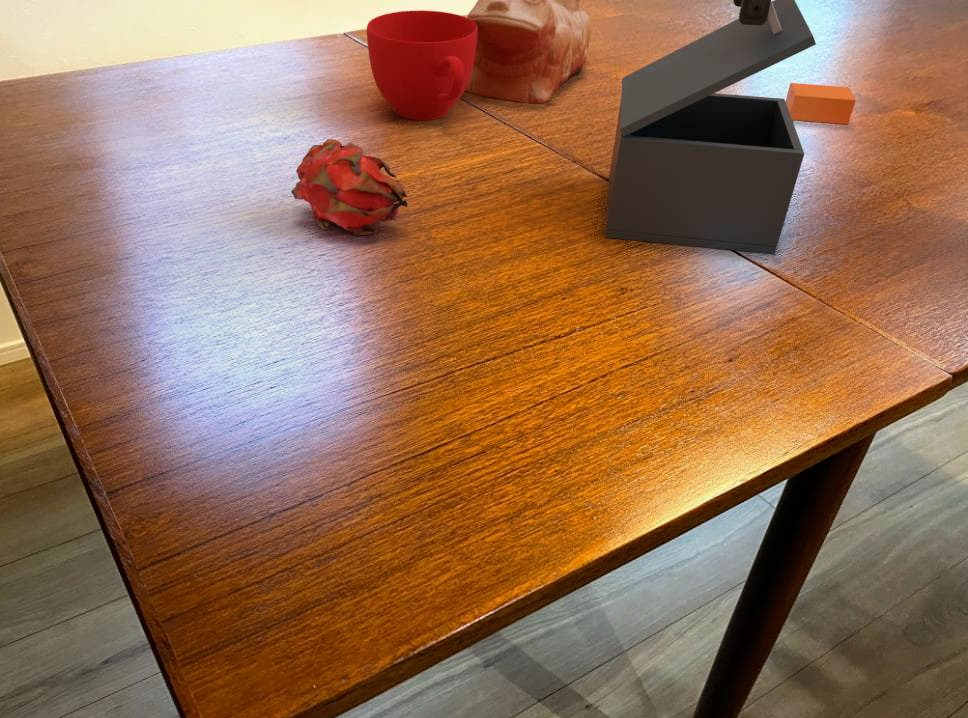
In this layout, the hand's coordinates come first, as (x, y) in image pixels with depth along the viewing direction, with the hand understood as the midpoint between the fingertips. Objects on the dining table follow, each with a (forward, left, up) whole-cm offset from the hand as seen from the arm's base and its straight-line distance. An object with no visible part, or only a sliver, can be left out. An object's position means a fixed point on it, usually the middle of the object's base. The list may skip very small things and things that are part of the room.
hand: (748, 13), depth 76 cm
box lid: (+2, 0, -5) cm, 5 cm away
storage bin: (+2, 0, -19) cm, 19 cm away
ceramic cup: (+32, -20, -19) cm, 42 cm away
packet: (-15, -31, -19) cm, 39 cm away
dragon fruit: (+34, +9, -19) cm, 40 cm away
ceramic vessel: (+22, -36, -19) cm, 46 cm away
